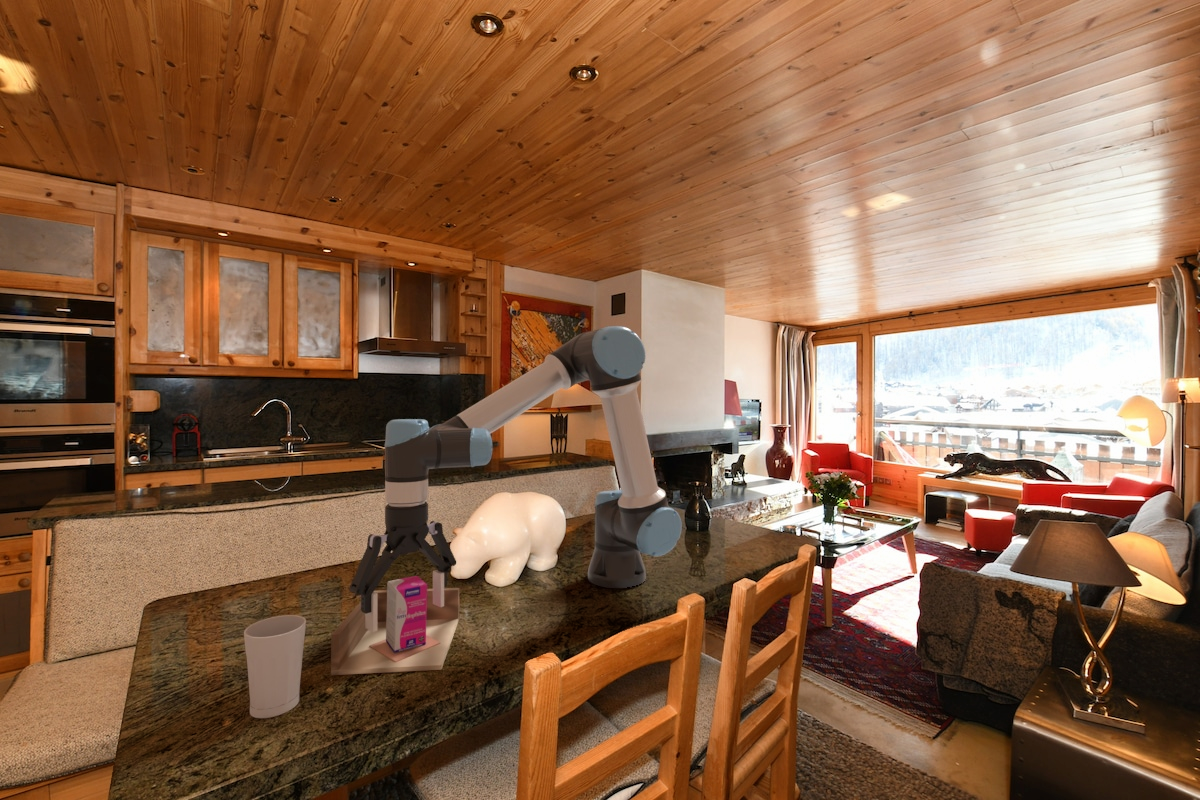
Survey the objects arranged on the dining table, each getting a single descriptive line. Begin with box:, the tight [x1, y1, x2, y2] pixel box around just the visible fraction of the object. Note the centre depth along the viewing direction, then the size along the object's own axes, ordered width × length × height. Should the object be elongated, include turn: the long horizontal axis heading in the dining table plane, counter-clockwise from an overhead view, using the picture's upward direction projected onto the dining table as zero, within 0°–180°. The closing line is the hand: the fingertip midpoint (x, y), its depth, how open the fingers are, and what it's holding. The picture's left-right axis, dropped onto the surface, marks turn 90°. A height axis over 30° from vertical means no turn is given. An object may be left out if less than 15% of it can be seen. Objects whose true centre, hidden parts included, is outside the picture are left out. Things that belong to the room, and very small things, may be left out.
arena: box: [330, 587, 460, 676], centre depth 97 cm, size 18×20×7 cm
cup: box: [243, 614, 307, 719], centre depth 78 cm, size 8×8×12 cm
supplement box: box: [386, 575, 428, 653], centre depth 95 cm, size 6×6×12 cm
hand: (406, 616), depth 95 cm, fingers open, 13 cm apart
